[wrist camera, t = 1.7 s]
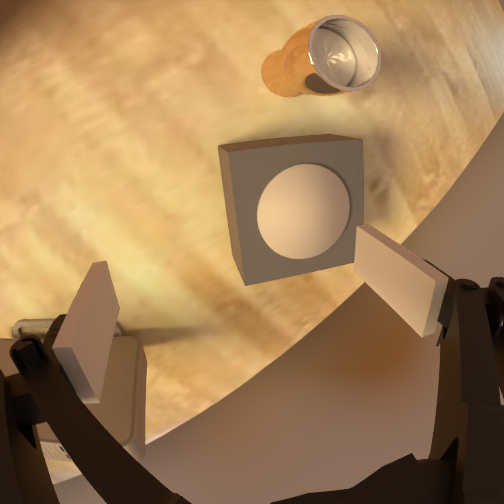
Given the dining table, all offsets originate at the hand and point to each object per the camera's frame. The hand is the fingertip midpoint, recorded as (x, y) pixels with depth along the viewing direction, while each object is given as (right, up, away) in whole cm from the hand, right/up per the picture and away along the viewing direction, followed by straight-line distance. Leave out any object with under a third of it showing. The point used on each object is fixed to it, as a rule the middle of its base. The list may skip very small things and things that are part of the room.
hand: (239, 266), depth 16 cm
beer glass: (+5, +22, +18) cm, 28 cm away
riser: (+4, +8, +23) cm, 25 cm away
